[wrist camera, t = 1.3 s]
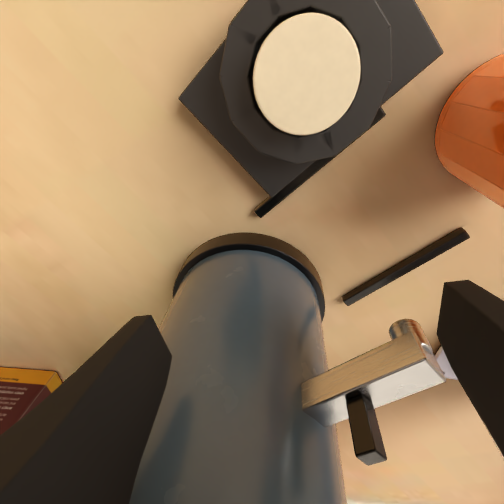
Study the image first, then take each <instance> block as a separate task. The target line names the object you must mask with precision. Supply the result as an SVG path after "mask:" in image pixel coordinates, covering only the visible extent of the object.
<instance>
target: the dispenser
mask: <svg viewBox="0 0 504 504" xmlns="http://www.w3.org/2000/svg"><path fill="white" fill-rule="evenodd" d="M385 115H386V114H385V112H384V111H383V109H382V108H381V107H379V109H378V111H377V113H376V115H375V118H374V120H373V122H372V124H371V126H370V128H371V127H372V126H373V125H375V124H376V123H377V122H378V121H379V120H381V119H382V118H383V117H384V116H385ZM370 128H369V129H370ZM369 129H367V130H369ZM367 130H366V131H367ZM366 131H365V132H366ZM365 132H364V133H365ZM364 133H363V134H364ZM361 135H362V134H361ZM361 135H360V136H361ZM360 136H359V137H360ZM359 137H358V138H359ZM358 138H356V139H358ZM356 139H355V140H356ZM355 140H354V141H355ZM354 141H353V142H354ZM353 142H352V143H353ZM350 144H351V143H350ZM350 144H349V145H350ZM349 145H348V146H349ZM348 146H347V147H348ZM347 147H346V148H347ZM344 149H345V148H344ZM344 149H343V150H344ZM343 150H342V151H343ZM342 151H341V152H342ZM341 152H340V153H341ZM338 154H339V153H338ZM338 154H337V155H338ZM337 155H336V156H337ZM336 156H335V155H334V156H333V157H328V158H323V159H319V160H316V161H315V162H314V163H312V164H311V165H310V166H309V167H308V168H306V169H305V170H304V171H303V172H302V173H301V174H299V175H298V176H297V177H296V178H295V179H293V180H292V181H291V182H290V183H289V184H288V185H286V186H285V187H284V188H283V189H282V190H280V191H279V192H278V193H277V194H276V195H274V196H273V197H271V196H269V197H268V198H266V199H265V200H264V201H263V202H262V203H261V204H259V205H258V206H257V207H256V208H255V211H254V212H255V213H256V214H257V215H258V216H259V217H260V218H262V217H263V216H264V215H265V214H266V213H268V212H269V211H270V210H271V209H272V208H274V207H275V206H276V205H277V204H279V203H280V202H281V201H282V200H283V199H285V198H286V197H287V196H288V195H289V194H291V193H292V192H293V191H294V190H296V189H297V188H298V187H299V186H300V185H302V184H303V183H304V182H305V181H307V180H308V179H309V178H310V177H311V176H313V175H314V174H315V173H316V172H317V171H319V170H320V169H321V168H322V167H324V166H325V165H326V164H327V163H328V162H330V161H331V160H332V159H333V158H334V157H336ZM468 238H470V236H469V235H468V233H467V232H466V231H465V230H464V229H463V228H462V227H461V228H459V229H457V230H455V231H454V232H452V233H450V234H448V235H447V236H445V237H443V238H442V239H440V240H438V241H436V242H435V243H433V244H431V245H430V246H428V247H426V248H424V249H423V250H421V251H419V252H418V253H416V254H414V255H412V256H411V257H409V258H407V259H406V260H404V261H402V262H400V263H399V264H397V265H395V266H394V267H392V268H390V269H388V270H387V271H385V272H383V273H382V274H380V275H378V276H376V277H375V278H373V279H371V280H370V281H368V282H366V283H364V284H363V285H361V286H359V287H358V288H356V289H354V290H352V291H351V292H349V293H347V294H346V295H344V296H342V298H343V302H344V303H345V304H346V305H347V306H349V305H351V304H353V303H354V302H356V301H358V300H360V299H362V298H363V297H365V296H367V295H369V294H371V293H372V292H374V291H376V290H378V289H379V288H381V287H383V286H385V285H387V284H388V283H390V282H392V281H394V280H395V279H397V278H399V277H401V276H403V275H404V274H406V273H408V272H410V271H411V270H413V269H415V268H417V267H419V266H420V265H422V264H424V263H426V262H427V261H429V260H431V259H433V258H435V257H436V256H438V255H440V254H442V253H444V252H445V251H447V250H449V249H451V248H452V247H454V246H456V245H458V244H460V243H461V242H463V241H465V240H467V239H468ZM324 312H325V301H324V294H323V288H322V284H321V280H320V277H319V275H318V272H317V271H316V269H315V267H314V266H313V264H312V263H311V262H310V261H309V259H308V258H307V257H306V256H305V255H304V254H302V253H301V252H300V251H299V250H298V249H296V248H295V247H293V246H292V245H290V244H288V243H286V242H284V241H282V240H280V239H277V238H274V237H271V236H267V235H263V234H256V233H234V234H228V235H223V236H220V237H217V238H214V239H212V240H210V241H208V242H206V243H204V244H202V245H201V246H200V247H198V248H197V249H196V250H195V251H194V252H193V253H192V254H191V255H190V256H189V257H188V259H187V260H186V261H185V263H184V265H183V267H182V269H181V271H180V273H179V275H178V277H177V279H176V281H175V285H174V289H173V301H172V303H171V305H170V307H169V309H168V311H167V313H166V315H165V317H164V319H163V321H162V324H161V326H160V328H159V331H160V333H161V335H162V337H163V339H164V341H165V343H166V345H167V347H168V349H169V351H170V353H171V354H172V360H171V366H170V371H169V376H168V380H167V385H166V388H165V391H164V395H163V397H162V400H161V403H160V406H159V409H158V412H157V415H156V418H155V421H154V424H153V427H152V430H151V432H150V435H149V438H148V441H147V444H146V447H145V450H144V453H143V456H142V458H141V462H140V465H139V468H138V471H137V475H136V478H135V482H134V486H133V490H132V494H131V498H130V502H129V504H347V501H346V494H345V487H344V480H343V472H342V465H341V458H340V451H339V444H338V437H337V430H336V423H338V422H341V421H343V420H346V419H349V423H350V428H351V434H352V439H353V445H354V451H355V455H356V457H357V458H358V459H360V460H361V461H362V462H364V463H365V464H366V465H372V464H376V463H379V462H383V461H386V460H387V456H386V453H385V449H384V445H383V441H382V437H381V433H380V429H379V425H378V422H377V418H376V414H375V410H374V409H375V408H378V407H381V406H383V405H386V404H388V403H391V402H394V401H396V400H399V399H402V398H404V397H407V396H410V395H412V394H415V393H418V392H420V391H423V390H426V389H428V388H431V387H434V386H436V385H439V384H441V383H444V382H446V378H445V376H444V374H443V372H442V370H441V368H440V366H439V364H438V362H437V360H436V358H435V356H434V354H433V350H432V347H431V345H430V343H429V341H428V339H427V337H426V336H425V334H424V332H423V330H422V328H421V326H420V324H419V323H418V322H416V321H414V320H412V319H402V320H399V321H396V322H395V323H393V324H392V325H391V327H390V330H389V334H390V337H391V339H392V341H389V342H387V343H385V344H383V345H381V346H379V347H377V348H375V349H372V350H370V351H368V352H366V353H364V354H362V355H360V356H358V357H355V358H353V359H351V360H349V361H347V362H345V363H343V364H341V365H339V366H336V367H334V368H332V369H330V370H328V365H327V358H326V351H325V344H324V337H323V330H322V321H323V317H324Z"/></svg>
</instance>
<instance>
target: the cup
mask: <svg viewBox="0 0 504 504" xmlns="http://www.w3.org/2000/svg"><path fill="white" fill-rule="evenodd" d="M435 147H436V152H437V155H438V158H439V160H440V162H441V163H442V165H443V166H444V168H445V169H446V170H447V171H448V172H449V173H451V174H452V175H454V176H455V177H457V178H458V179H460V180H461V181H463V182H464V183H466V184H467V185H469V186H470V187H472V188H473V189H475V190H477V191H478V192H480V193H481V194H483V195H484V196H486V197H487V198H489V199H490V200H492V201H493V202H495V203H496V204H498V205H500V206H501V207H503V208H504V54H502V55H499V56H497V57H495V58H493V59H491V60H489V61H488V62H486V63H484V64H483V65H481V66H480V67H478V68H477V69H476V70H474V71H473V72H472V73H471V74H470V75H468V76H467V77H466V78H465V79H464V80H463V81H462V82H461V83H460V84H459V86H458V87H457V88H456V89H455V90H454V92H453V93H452V94H451V96H450V97H449V99H448V100H447V102H446V104H445V105H444V107H443V110H442V112H441V114H440V117H439V120H438V123H437V127H436V133H435Z"/></svg>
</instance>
